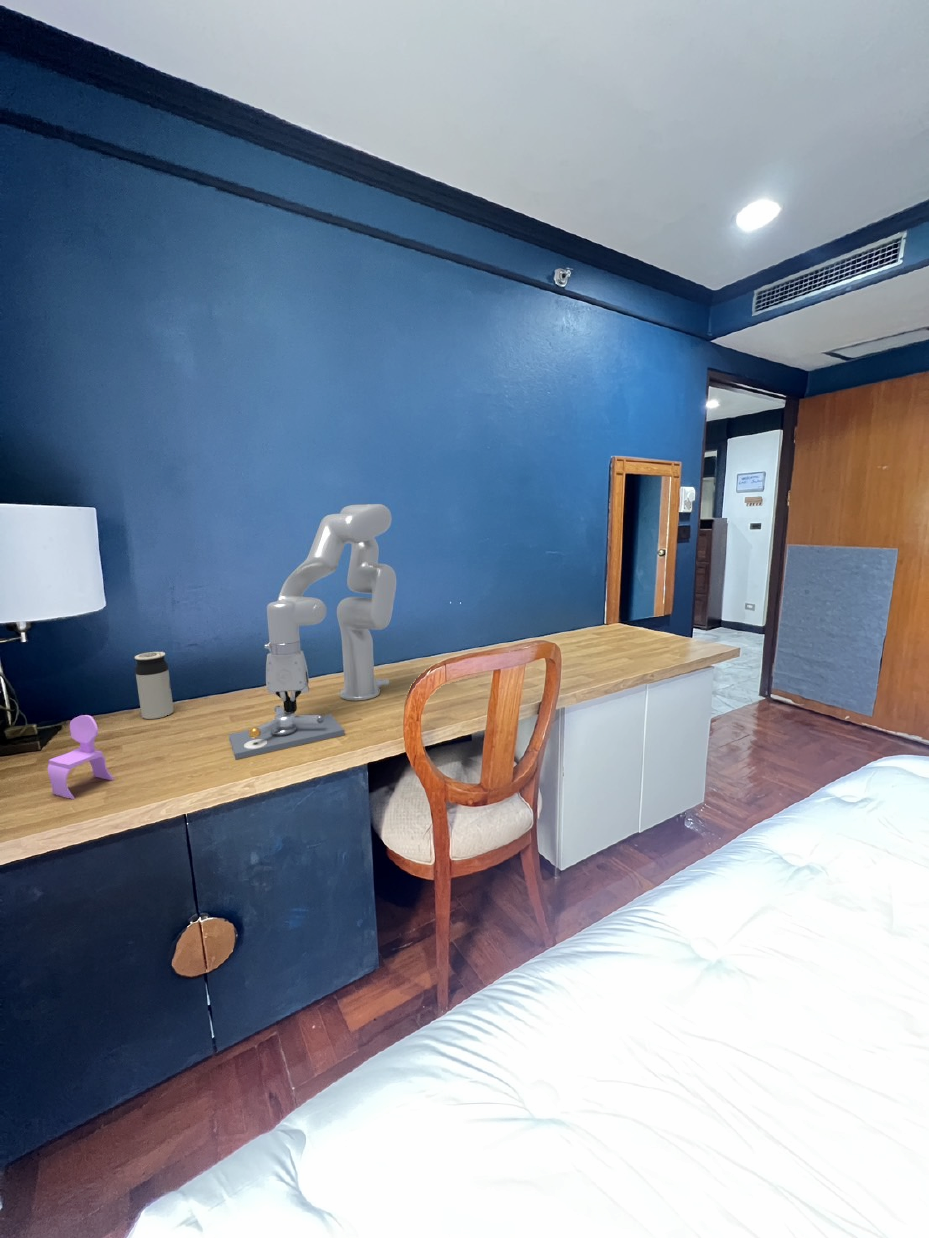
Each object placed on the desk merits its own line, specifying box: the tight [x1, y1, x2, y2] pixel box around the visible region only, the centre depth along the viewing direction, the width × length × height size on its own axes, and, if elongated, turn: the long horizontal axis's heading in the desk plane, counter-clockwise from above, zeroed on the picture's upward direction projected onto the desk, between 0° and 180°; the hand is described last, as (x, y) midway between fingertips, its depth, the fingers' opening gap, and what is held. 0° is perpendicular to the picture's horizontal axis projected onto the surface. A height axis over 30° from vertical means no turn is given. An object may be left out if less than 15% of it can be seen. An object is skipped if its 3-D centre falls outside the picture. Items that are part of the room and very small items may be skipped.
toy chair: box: [47, 714, 115, 800], centre depth 103 cm, size 8×9×15 cm
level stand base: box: [228, 713, 345, 760], centre depth 128 cm, size 26×13×2 cm, turn 121°
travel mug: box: [134, 651, 175, 720], centre depth 143 cm, size 8×8×18 cm
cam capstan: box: [249, 705, 324, 738], centre depth 126 cm, size 16×17×4 cm
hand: (290, 713), depth 135 cm, fingers closed
